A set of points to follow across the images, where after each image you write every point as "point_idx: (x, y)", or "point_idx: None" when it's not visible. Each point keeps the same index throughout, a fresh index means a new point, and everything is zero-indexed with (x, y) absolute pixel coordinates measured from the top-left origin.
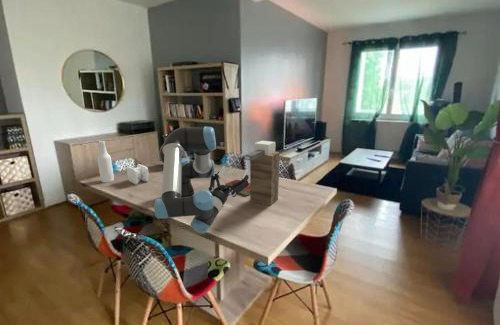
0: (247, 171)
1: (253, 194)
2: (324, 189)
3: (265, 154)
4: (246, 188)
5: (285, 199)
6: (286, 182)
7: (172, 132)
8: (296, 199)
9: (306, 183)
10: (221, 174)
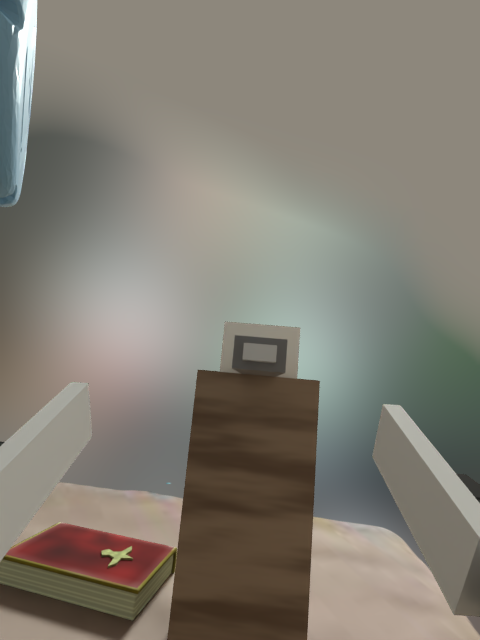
0: (417, 428)
1: (191, 621)
2: (373, 533)
3: (280, 375)
4: (124, 573)
5: (320, 612)
6: None
7: None
8: (358, 602)
9: None
10: (26, 492)
